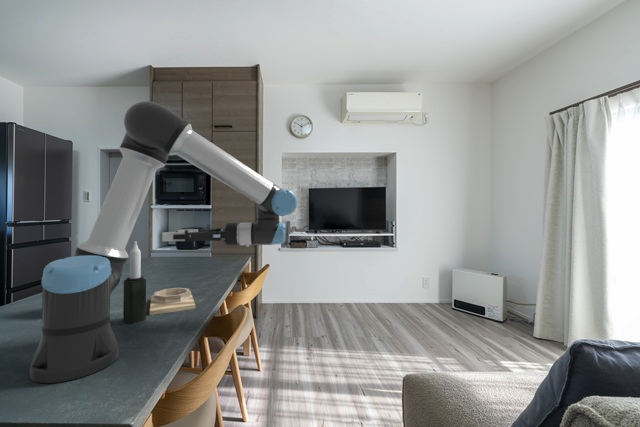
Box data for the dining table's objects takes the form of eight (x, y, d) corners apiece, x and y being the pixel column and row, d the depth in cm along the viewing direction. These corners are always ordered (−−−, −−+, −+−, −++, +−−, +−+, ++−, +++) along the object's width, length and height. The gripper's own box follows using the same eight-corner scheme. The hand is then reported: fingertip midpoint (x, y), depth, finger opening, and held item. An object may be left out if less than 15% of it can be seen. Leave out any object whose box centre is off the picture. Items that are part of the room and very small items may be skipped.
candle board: (195, 308, 104) (195, 297, 104) (149, 315, 97) (149, 303, 97) (190, 295, 121) (190, 285, 121) (151, 299, 114) (151, 289, 114)
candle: (147, 319, 93) (148, 240, 93) (130, 324, 89) (130, 242, 89) (139, 316, 96) (139, 240, 96) (121, 320, 92) (122, 241, 92)
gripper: (233, 250, 85) (154, 251, 82) (242, 241, 110) (183, 242, 107) (233, 224, 85) (154, 225, 82) (242, 221, 110) (183, 222, 106)
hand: (170, 235), depth 94 cm, fingers open, 13 cm apart
